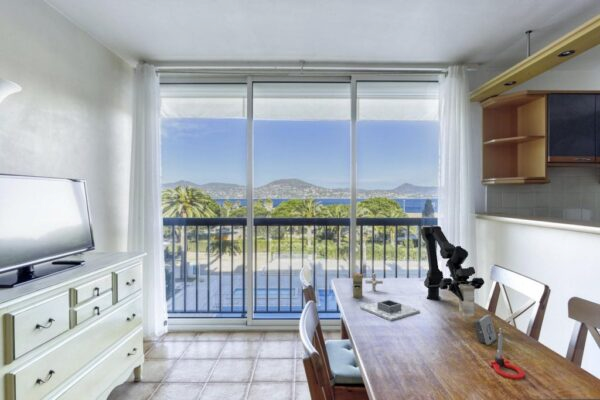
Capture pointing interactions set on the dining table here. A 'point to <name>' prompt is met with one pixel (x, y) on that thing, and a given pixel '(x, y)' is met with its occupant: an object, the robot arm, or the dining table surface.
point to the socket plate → (389, 309)
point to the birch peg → (466, 300)
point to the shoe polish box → (357, 285)
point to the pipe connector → (373, 282)
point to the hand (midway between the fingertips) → (468, 300)
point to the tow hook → (504, 362)
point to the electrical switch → (485, 329)
